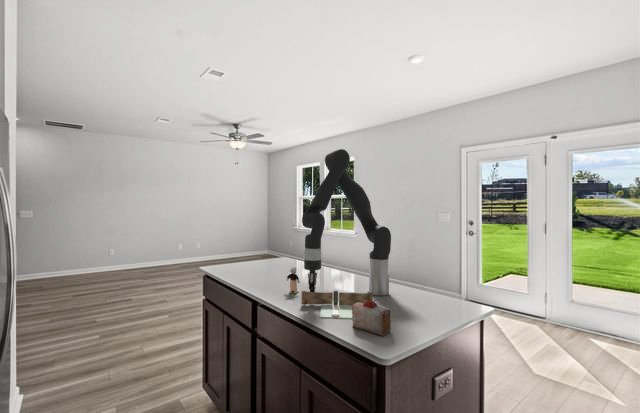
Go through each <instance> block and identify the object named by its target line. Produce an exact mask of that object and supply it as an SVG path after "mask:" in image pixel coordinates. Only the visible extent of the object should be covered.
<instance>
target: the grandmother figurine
mask: <svg viewBox="0 0 640 413" xmlns="http://www.w3.org/2000/svg"><path fill="white" fill-rule="evenodd" d="M289 272H290V273H289V274H288V275H287V276H286V281H289V280H290V282H289V290H290V291H289V293H291V294H292V293H293V294H298V293H300V292H299V291H298V286H297V285H298V284H300V283H301V282H300V278H299V276H298V275H297V274H296V273H297V267H296V266H292V267H290V269H289Z"/></svg>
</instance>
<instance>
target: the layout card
mask: <svg viewBox="0 0 640 413" xmlns="http://www.w3.org/2000/svg"><path fill="white" fill-rule="evenodd" d="M319 318H320V319H341V318H343V319H345V320H346V319H347V320H352V319H353V318H352V306H347V305H339V300H338V304H337V305H334V304H321V308H320V314H319Z"/></svg>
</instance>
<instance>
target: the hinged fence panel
mask: <svg viewBox="0 0 640 413" xmlns="http://www.w3.org/2000/svg"><path fill="white" fill-rule="evenodd" d="M300 300H301V305H303V306H304V305H322V304H334V305H337V304H338V301H339V290H333V291H315V292H310V291H307V290H306V289H304V290H301V299H300Z"/></svg>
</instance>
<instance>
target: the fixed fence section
mask: <svg viewBox="0 0 640 413" xmlns="http://www.w3.org/2000/svg"><path fill="white" fill-rule="evenodd" d="M373 296H374V295H373V292H371V291H369V290H368V291H367V292H356V291H355V292H348V291H347V292H346V291H345V292H344V291H338V301H339V305H347V306H352V305H353V304H355V303H357V302H361V303H365V302H368V301H371V302H373V301H374V300H373Z"/></svg>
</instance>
